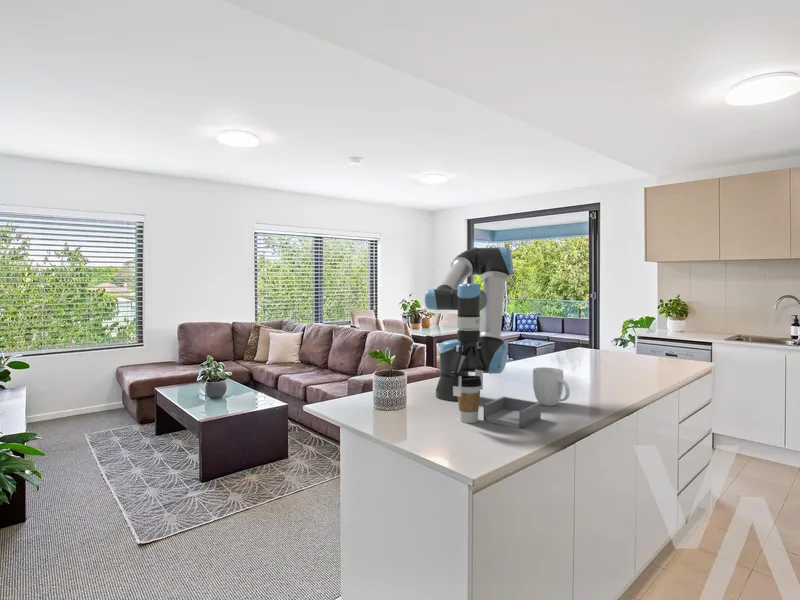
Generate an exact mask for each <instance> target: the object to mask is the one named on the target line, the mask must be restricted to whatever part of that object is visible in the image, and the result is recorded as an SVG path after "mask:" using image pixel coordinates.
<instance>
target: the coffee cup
mask: <svg viewBox="0 0 800 600" xmlns="http://www.w3.org/2000/svg"><path fill="white" fill-rule="evenodd" d="M480 386H481V379H480V376H475V375H468V376H461V397H459V396H458V401H457V402H458V412H459V421H460V422H461V423H465V424H474V423H477V422H478V421H479V420H478V419H479V417H478V416H479V409H480V408H479V407H480V398H481V390H480Z"/></svg>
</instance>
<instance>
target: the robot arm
mask: <svg viewBox="0 0 800 600" xmlns="http://www.w3.org/2000/svg"><path fill="white" fill-rule="evenodd" d="M513 274H514V264H513V257H512V252H511V250H510V248H508V247H501V246H497V247H496V246H495V247H474V248H473V247H472V248H469V249H467V250H464V251H463V252H461V253H459V254H458V255H456V257H454V259H453V260H452V261H451V263H450V267H449V270H448V272H447V273H446V274H445V276H444V277H443V279H442V280H441V282H440V283H439V285H438V286H437V287H436V289H435V288H432V289H431V288H430V289H427V290H426V291H425V293H424V303H425V307H426V308H427V310H435V311H457V323H456V324H457V325H456V326H457V329H458V330H457V334H456V335H457V339H450V340H449V339H448V340H444V341H442V342H441V343H440V346H439V352H438V353H439V380H438V381H437V384H436V385H437V386H436V389H435V397H436V398H437V399H440V400H445V401H456V402H458V396H459V397H461V376H469V373H474V376H480V379H481V386H480V391H481V390H482V391H483V389H484V374H489V375H492V374H494V375H495V374H501V373H502V372H503V371H504V370H505V367H506V365H507V359H508V351H509V349H508V346H507V344H505V340H504V339H503V338H502V336H501V335H502V334H501V333H502V320H503V309H504V293H505V283H506V282H507V281H508V280H509V277H510V276H511V275H513ZM474 275H475V276H480V279H481V280H482V281H483V287H482V289H481V285H480V284H479V283H464V282H465V281H466V279H468V278H469V277H470V276H474ZM509 275H510V276H509Z"/></svg>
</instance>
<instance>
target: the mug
mask: <svg viewBox="0 0 800 600" xmlns="http://www.w3.org/2000/svg"><path fill="white" fill-rule="evenodd" d="M532 385H533V386H532V387H533V391H534V392H533V393H534V397H535V399H536V400H537V402H538V403H541V406H547V407H551V406H552V407H554V406H557V405H558V403H559V402H564V401H567V400H568V399H569V397H570V393H571V392H570V386H569V384H568V382H567V381H566V380H565V379H564V370H563V369H560V368H556V367H548V366H546V367H545V366H544V367H543V366H541V367H535V368H534V367H533V369H532ZM563 388H565V395H564V397H563V398H562V394H563Z"/></svg>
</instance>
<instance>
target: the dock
mask: <svg viewBox="0 0 800 600" xmlns="http://www.w3.org/2000/svg"><path fill="white" fill-rule="evenodd" d="M541 407H542V405H541V403H538V401H537V402H536V401H531V400H526V399H520V398H515V397H509V396H501V397H499V398H496V399H493V400H492V401H489V402H486V403H484V404H483V421H484V422H487V423H493V424H495V425H496V424H497V425H502V426H507V427H512V428H515V429H520V430H523V429H525V428H527V427H530V426H531V425H532V424H534V423H536V422H538V421H540V420H541V418H542V417H541V416H542V413H541V412H542V408H541Z"/></svg>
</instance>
